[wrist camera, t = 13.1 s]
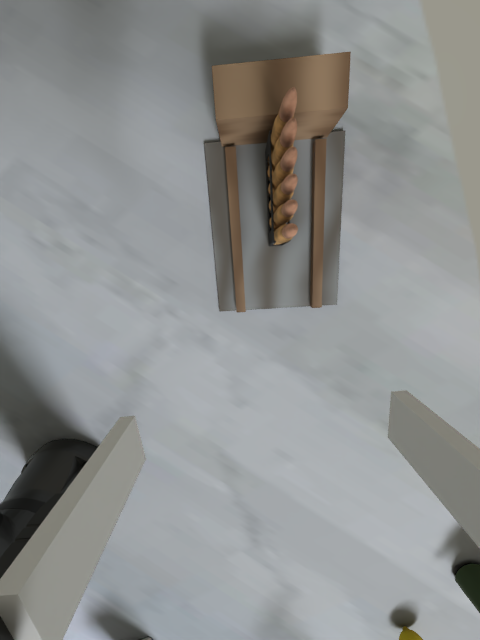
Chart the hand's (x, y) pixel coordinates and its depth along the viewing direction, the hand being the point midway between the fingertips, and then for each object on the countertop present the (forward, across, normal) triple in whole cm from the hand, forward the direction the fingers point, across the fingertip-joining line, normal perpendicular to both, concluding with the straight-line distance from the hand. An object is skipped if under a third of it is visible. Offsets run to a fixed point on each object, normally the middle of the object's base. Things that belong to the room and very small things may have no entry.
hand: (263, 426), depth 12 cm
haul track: (+21, +5, +13) cm, 25 cm away
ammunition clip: (+21, +5, +15) cm, 26 cm away
